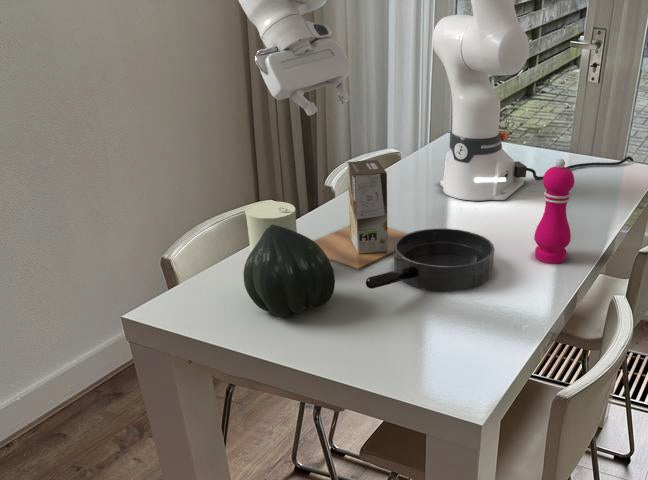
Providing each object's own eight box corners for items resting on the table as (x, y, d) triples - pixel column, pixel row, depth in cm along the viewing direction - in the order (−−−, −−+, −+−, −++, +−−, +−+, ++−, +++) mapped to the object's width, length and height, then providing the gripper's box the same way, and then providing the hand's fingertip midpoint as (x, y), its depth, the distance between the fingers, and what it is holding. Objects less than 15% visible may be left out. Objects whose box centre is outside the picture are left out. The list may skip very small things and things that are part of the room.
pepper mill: (547, 248, 160) (557, 151, 149) (575, 258, 156) (587, 159, 145) (525, 256, 156) (533, 158, 145) (552, 267, 152) (564, 166, 141)
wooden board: (362, 222, 169) (362, 220, 169) (420, 239, 162) (420, 237, 162) (298, 249, 155) (298, 247, 155) (358, 270, 148) (358, 268, 148)
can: (290, 279, 143) (284, 217, 137) (243, 274, 145) (236, 212, 138) (307, 260, 151) (303, 201, 144) (263, 255, 152) (256, 196, 146)
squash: (345, 295, 126) (325, 209, 127) (253, 311, 121) (233, 222, 123) (335, 318, 139) (317, 240, 141) (252, 333, 135) (234, 252, 137)
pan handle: (412, 273, 142) (412, 253, 140) (421, 276, 141) (421, 255, 139) (363, 299, 132) (363, 277, 130) (372, 302, 131) (372, 280, 129)
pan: (432, 244, 160) (433, 221, 157) (511, 268, 151) (513, 244, 148) (374, 273, 147) (373, 249, 144) (456, 301, 138) (457, 276, 135)
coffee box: (389, 251, 155) (388, 172, 146) (357, 254, 153) (355, 174, 144) (379, 235, 162) (377, 159, 154) (348, 237, 160) (345, 160, 152)
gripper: (258, 42, 137) (301, 111, 140) (333, 24, 151) (371, 87, 154) (242, 62, 142) (284, 129, 144) (316, 43, 156) (353, 104, 158)
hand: (329, 107), depth 149 cm, fingers open, 8 cm apart
